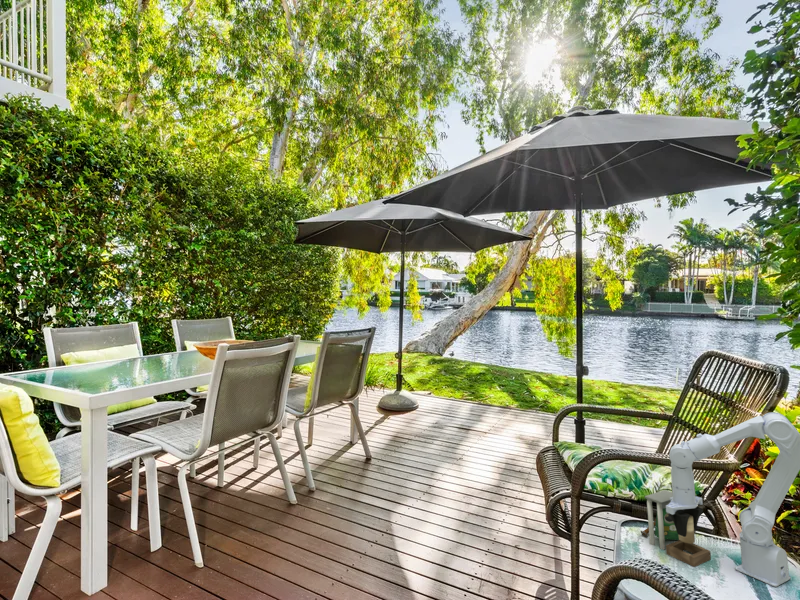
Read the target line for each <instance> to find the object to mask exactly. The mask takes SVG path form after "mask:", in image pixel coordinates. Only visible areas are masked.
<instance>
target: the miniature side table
mask: <svg viewBox="0 0 800 600" xmlns="http://www.w3.org/2000/svg"><path fill="white" fill-rule="evenodd" d="M670 497H673V493H672V492H671V491H670V490H665V489H663V490H661V491H657V492H653V493H651V494H648V495H644V499H646V507H647V522H648V527H649V533H648V535H649V536H648V538H649V545H650V546H651V545H652V546H655V545H656V540H655V537H656V536H655V534H654V530H655V528H654V523H653V522H654V511H653V502H655V503H656V515H657V514H658V528H659V538H658V539H659V540H658V541H659V549H660V550H663V551H666V544H665V543H666V540H665V539H664V525H663V511H662V509H664V508H666V505H668V504H669V503H670V502H671V500H670Z"/></svg>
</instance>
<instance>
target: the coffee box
mask: <svg viewBox="0 0 800 600" xmlns="http://www.w3.org/2000/svg"><path fill="white" fill-rule="evenodd" d="M662 511H663V525H664V539H665V541H666V540H673V541H678V540H679V535H678V533H677V530H676V527H675V525H674V522H673V520H672V518H671V516H670V515H669V513H667V512H666V508H664V509H662ZM655 519H656V525H655V528H654V530H655V534H654V537H656V538H657V539H659V528H658V514H657V513H656V518H655Z"/></svg>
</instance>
